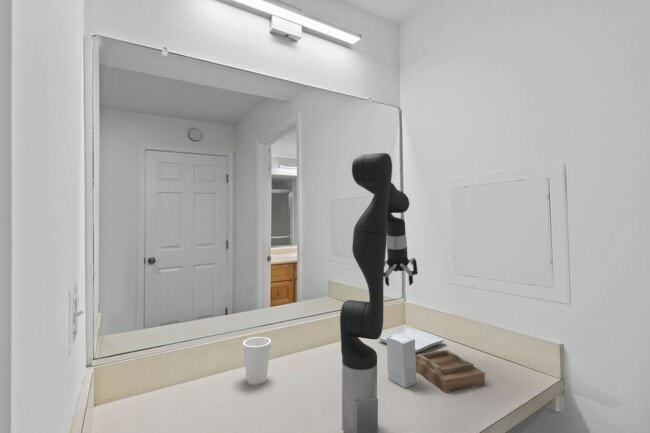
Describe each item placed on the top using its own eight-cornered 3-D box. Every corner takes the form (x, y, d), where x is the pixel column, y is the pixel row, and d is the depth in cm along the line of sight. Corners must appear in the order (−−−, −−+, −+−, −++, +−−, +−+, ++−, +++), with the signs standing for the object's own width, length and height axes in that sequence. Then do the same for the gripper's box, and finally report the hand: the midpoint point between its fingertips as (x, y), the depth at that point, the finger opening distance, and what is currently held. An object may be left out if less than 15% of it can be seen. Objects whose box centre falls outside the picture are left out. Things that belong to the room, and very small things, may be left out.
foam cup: (242, 388, 109) (243, 348, 109) (242, 375, 118) (242, 338, 118) (272, 384, 112) (272, 345, 112) (269, 372, 120) (269, 335, 120)
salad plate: (405, 332, 163) (405, 325, 163) (445, 345, 146) (445, 337, 146) (375, 343, 149) (375, 335, 149) (416, 359, 133) (416, 350, 133)
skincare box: (417, 384, 112) (417, 339, 112) (404, 389, 109) (404, 343, 109) (398, 374, 119) (398, 332, 119) (386, 378, 116) (386, 335, 116)
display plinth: (484, 384, 112) (484, 368, 112) (444, 392, 106) (445, 375, 106) (444, 360, 131) (444, 346, 131) (409, 366, 125) (409, 351, 125)
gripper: (378, 249, 127) (381, 289, 130) (417, 247, 125) (419, 288, 128) (377, 243, 134) (380, 282, 137) (414, 241, 132) (416, 280, 135)
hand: (399, 284), depth 133 cm, fingers open, 8 cm apart
